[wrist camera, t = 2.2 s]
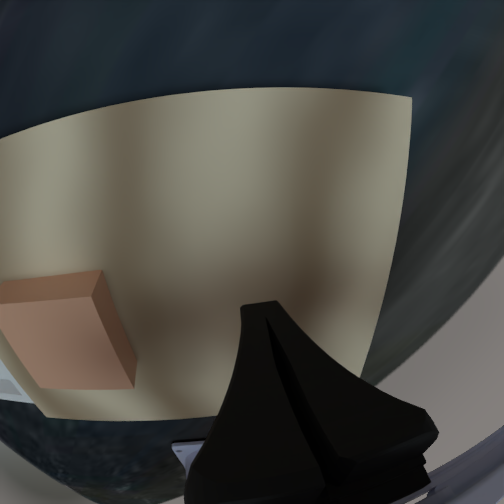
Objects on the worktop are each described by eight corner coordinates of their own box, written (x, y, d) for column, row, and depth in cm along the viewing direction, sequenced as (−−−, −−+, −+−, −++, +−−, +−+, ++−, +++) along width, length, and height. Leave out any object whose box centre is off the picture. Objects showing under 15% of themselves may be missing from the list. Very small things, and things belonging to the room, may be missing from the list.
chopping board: (383, 93, 11) (412, 97, 9) (344, 364, 19) (355, 387, 17) (-56, 164, 8) (-81, 178, 6) (52, 393, 16) (46, 417, 14)
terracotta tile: (101, 269, 10) (90, 296, 9) (137, 361, 13) (134, 389, 11) (3, 281, 10) (-13, 305, 8) (48, 363, 12) (40, 387, 11)
